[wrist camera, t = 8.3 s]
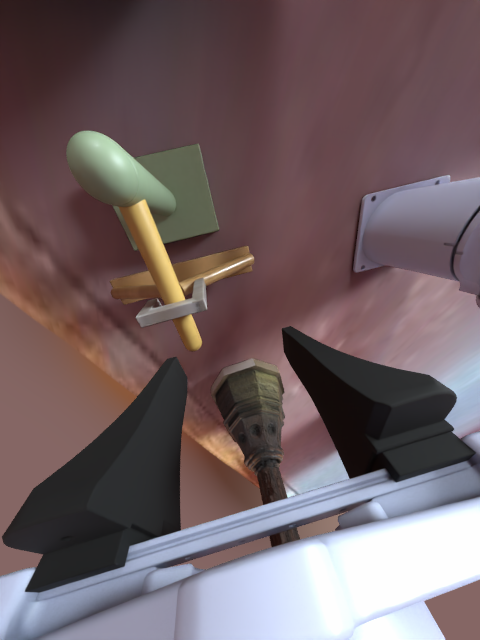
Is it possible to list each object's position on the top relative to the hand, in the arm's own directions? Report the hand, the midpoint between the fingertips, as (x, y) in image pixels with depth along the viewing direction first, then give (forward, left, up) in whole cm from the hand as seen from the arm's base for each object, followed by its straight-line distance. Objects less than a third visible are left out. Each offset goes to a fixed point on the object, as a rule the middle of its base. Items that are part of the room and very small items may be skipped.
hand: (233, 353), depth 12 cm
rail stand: (+3, -7, -10) cm, 13 cm away
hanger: (+3, -4, -9) cm, 10 cm away
